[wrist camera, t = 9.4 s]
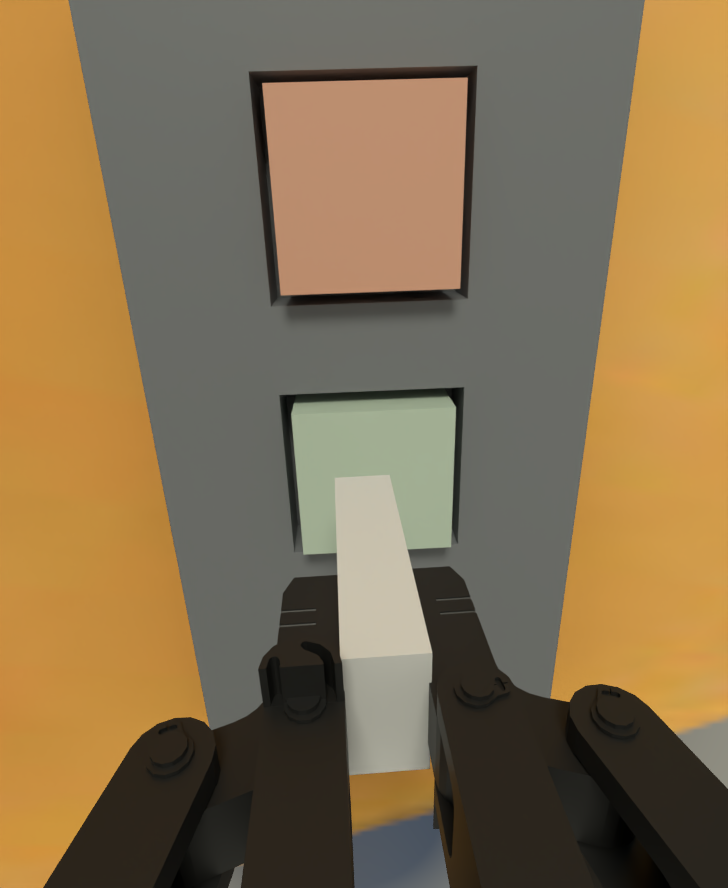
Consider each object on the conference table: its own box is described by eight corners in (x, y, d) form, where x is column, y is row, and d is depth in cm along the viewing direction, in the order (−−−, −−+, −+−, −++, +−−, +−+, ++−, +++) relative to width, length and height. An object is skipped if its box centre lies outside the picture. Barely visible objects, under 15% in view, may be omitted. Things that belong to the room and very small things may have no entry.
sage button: (307, 521, 20) (303, 554, 18) (296, 393, 18) (291, 414, 16) (439, 514, 21) (451, 547, 19) (443, 386, 19) (456, 407, 17)
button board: (228, 718, 26) (217, 768, 23) (104, 7, 15) (62, -30, 13) (525, 700, 26) (543, 748, 24) (603, -4, 15) (650, -43, 13)
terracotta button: (287, 286, 17) (280, 295, 15) (272, 100, 15) (262, 83, 13) (446, 280, 17) (460, 289, 15) (450, 95, 15) (467, 77, 13)
